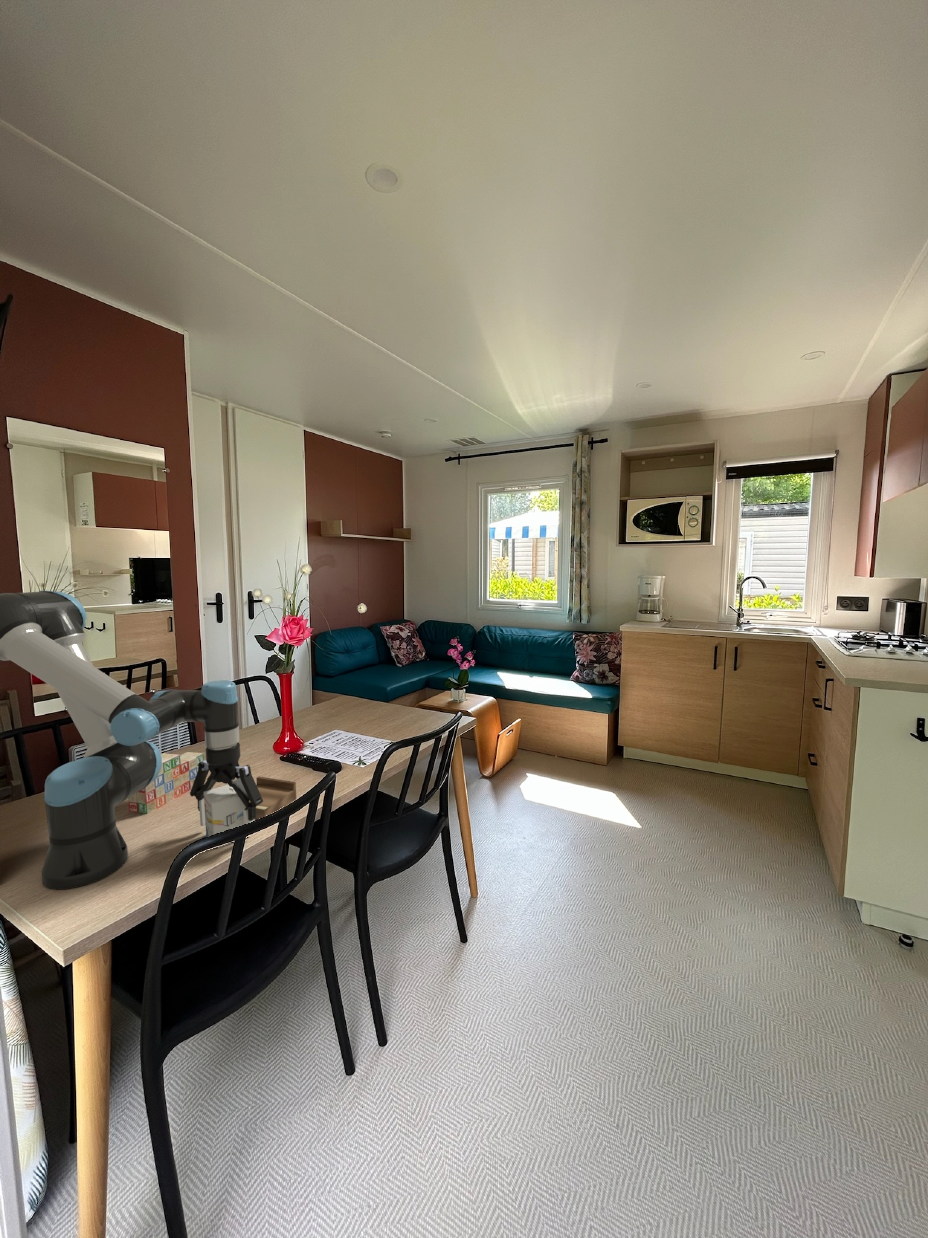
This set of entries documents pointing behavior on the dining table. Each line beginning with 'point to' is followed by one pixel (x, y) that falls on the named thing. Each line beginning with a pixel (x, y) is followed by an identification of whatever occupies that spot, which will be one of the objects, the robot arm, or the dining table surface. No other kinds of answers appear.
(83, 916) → the dining table surface
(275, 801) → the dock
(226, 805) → the ink box
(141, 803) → the stack of blocks
